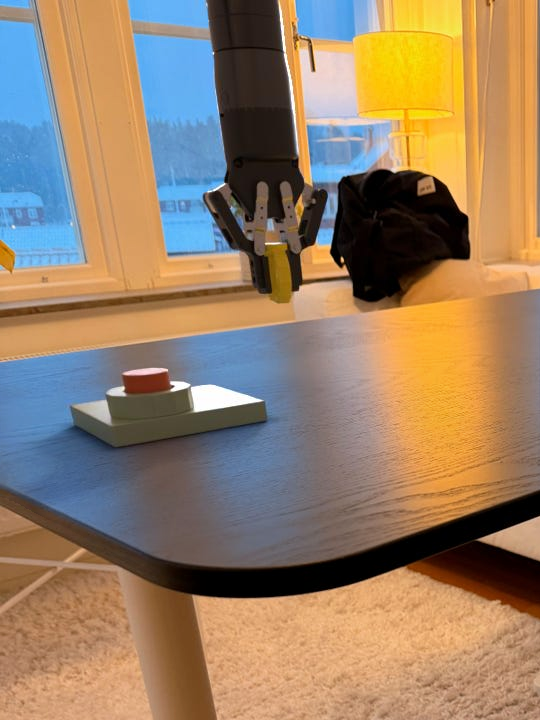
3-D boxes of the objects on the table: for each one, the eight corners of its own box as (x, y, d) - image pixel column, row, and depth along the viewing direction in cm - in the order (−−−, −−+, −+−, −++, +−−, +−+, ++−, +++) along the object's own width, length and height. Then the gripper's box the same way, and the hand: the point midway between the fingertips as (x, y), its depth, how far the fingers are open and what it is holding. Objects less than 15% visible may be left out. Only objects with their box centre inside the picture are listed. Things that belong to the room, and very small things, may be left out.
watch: (260, 301, 98) (253, 243, 96) (285, 300, 99) (278, 242, 97) (274, 305, 93) (267, 243, 91) (300, 303, 95) (293, 242, 92)
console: (115, 447, 69) (105, 402, 68) (73, 424, 78) (64, 384, 76) (268, 420, 76) (262, 379, 74) (214, 402, 85) (207, 364, 83)
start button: (134, 399, 70) (129, 377, 70) (120, 393, 73) (115, 372, 72) (178, 393, 72) (174, 371, 72) (163, 387, 75) (159, 366, 74)
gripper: (302, 114, 95) (319, 286, 102) (174, 109, 87) (204, 296, 95) (335, 106, 89) (352, 289, 97) (203, 100, 82) (231, 299, 90)
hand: (278, 291), depth 96 cm, fingers closed on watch, 2 cm apart
